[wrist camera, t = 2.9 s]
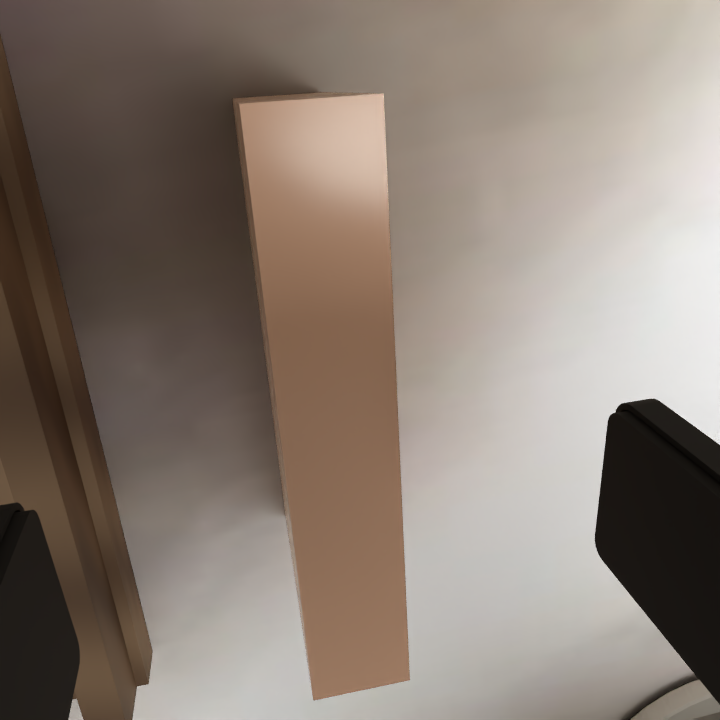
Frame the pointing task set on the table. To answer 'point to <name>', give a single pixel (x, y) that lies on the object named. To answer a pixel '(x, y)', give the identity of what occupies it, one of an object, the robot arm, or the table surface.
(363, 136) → the clay strip
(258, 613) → the table surface
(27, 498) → the wooden stepped riser
